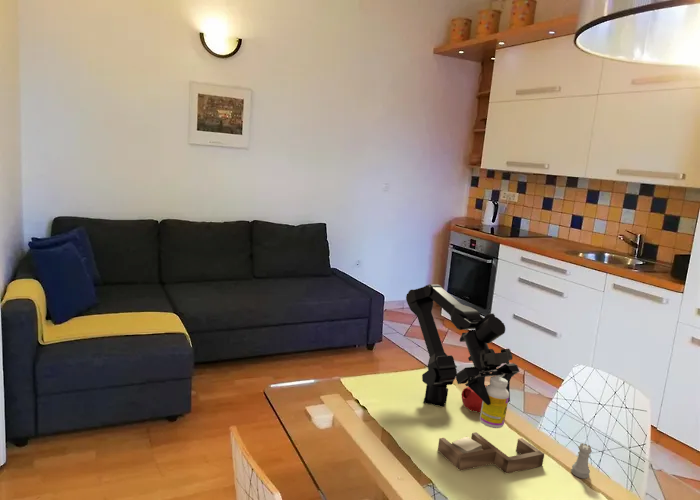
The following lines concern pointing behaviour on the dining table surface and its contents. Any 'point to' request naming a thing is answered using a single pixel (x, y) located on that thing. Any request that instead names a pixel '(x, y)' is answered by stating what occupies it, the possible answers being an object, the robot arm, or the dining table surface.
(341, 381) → the dining table surface
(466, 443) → the offcut stack
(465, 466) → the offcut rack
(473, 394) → the pomegranate
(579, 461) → the rook chess piece
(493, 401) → the supplement bottle
